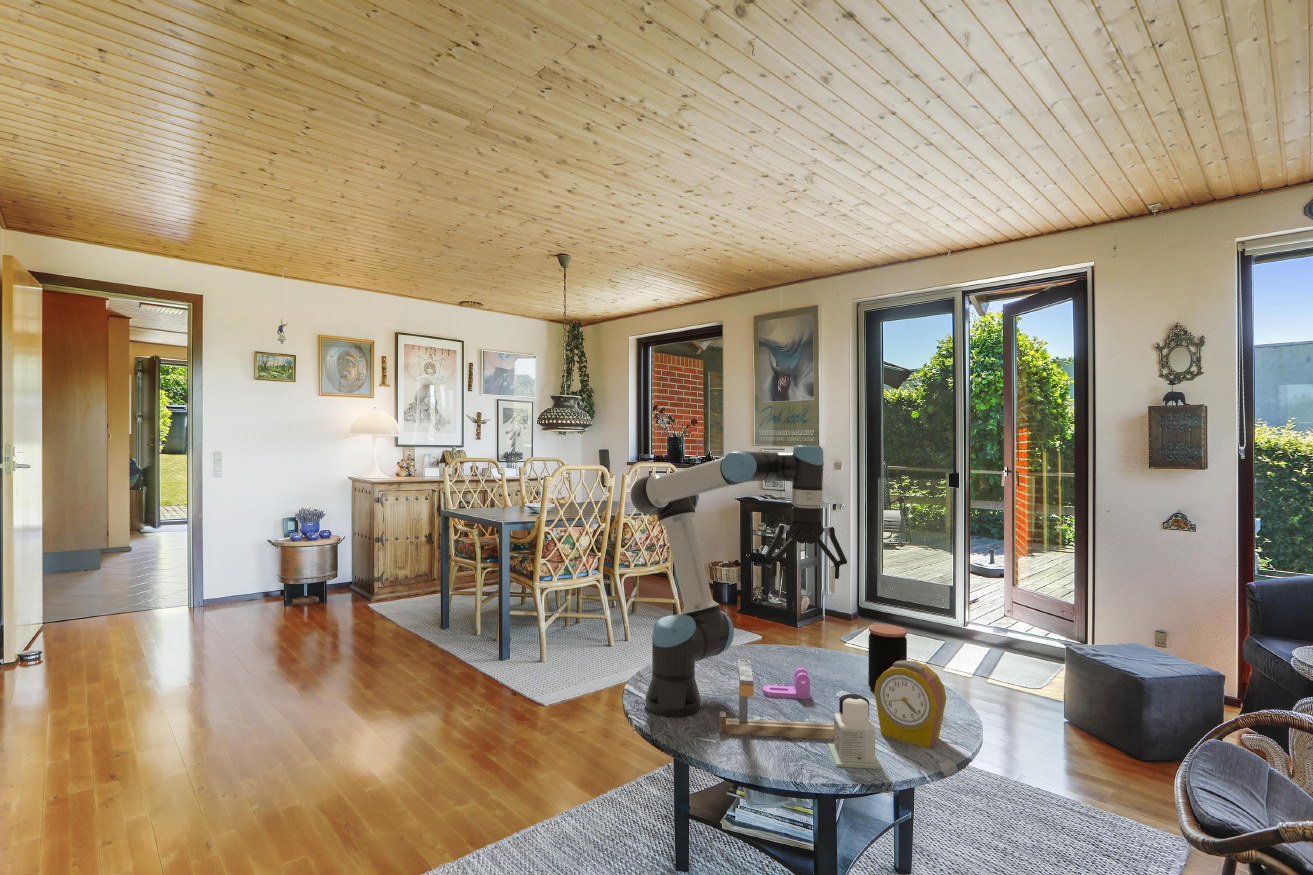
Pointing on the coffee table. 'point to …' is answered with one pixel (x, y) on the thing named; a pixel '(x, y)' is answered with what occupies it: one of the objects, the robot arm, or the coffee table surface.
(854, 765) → the pad
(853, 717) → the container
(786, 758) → the coffee table surface
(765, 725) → the rail
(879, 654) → the coffee jar
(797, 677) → the bracket
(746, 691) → the grey l-shaped beam
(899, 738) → the alarm clock
